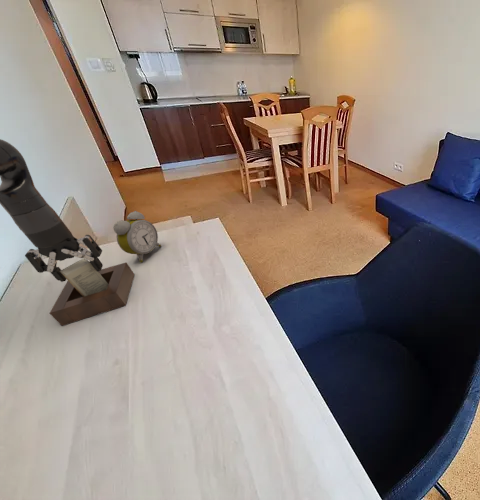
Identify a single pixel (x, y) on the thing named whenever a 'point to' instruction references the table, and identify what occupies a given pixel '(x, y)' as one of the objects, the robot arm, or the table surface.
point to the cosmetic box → (84, 278)
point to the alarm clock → (136, 235)
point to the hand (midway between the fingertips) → (82, 274)
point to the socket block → (94, 296)
